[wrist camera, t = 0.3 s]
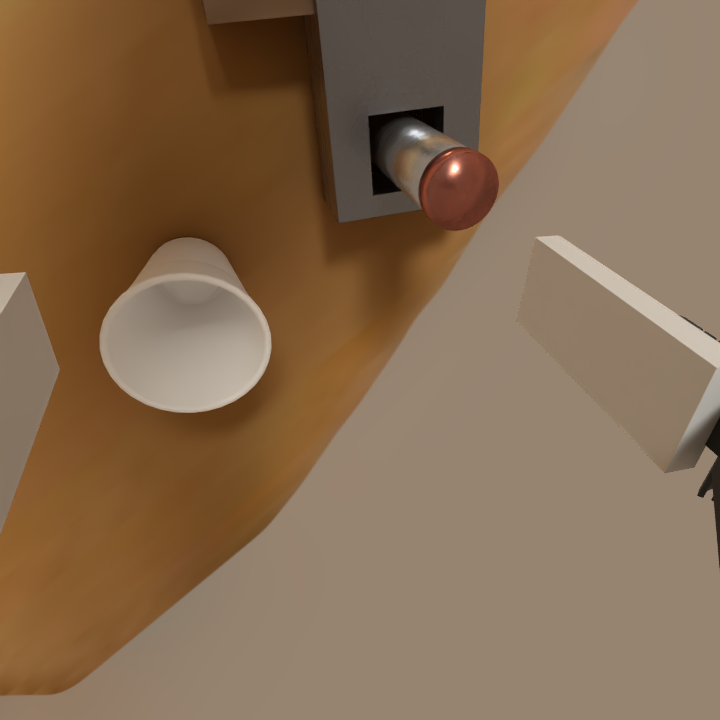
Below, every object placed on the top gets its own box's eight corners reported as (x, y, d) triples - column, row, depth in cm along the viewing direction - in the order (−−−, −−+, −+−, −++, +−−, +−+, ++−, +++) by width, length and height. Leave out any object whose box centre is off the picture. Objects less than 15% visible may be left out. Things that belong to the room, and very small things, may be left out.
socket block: (299, -27, 32) (313, -31, 28) (453, -41, 34) (488, -46, 30) (325, 200, 40) (338, 223, 36) (448, 181, 42) (475, 200, 38)
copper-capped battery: (356, 109, 37) (424, 157, 26) (411, 101, 38) (501, 145, 27) (360, 168, 40) (424, 236, 29) (412, 160, 40) (495, 224, 29)
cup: (270, 228, 41) (290, 293, 32) (241, 338, 45) (251, 421, 36) (129, 194, 37) (108, 256, 28) (113, 317, 41) (90, 404, 33)
